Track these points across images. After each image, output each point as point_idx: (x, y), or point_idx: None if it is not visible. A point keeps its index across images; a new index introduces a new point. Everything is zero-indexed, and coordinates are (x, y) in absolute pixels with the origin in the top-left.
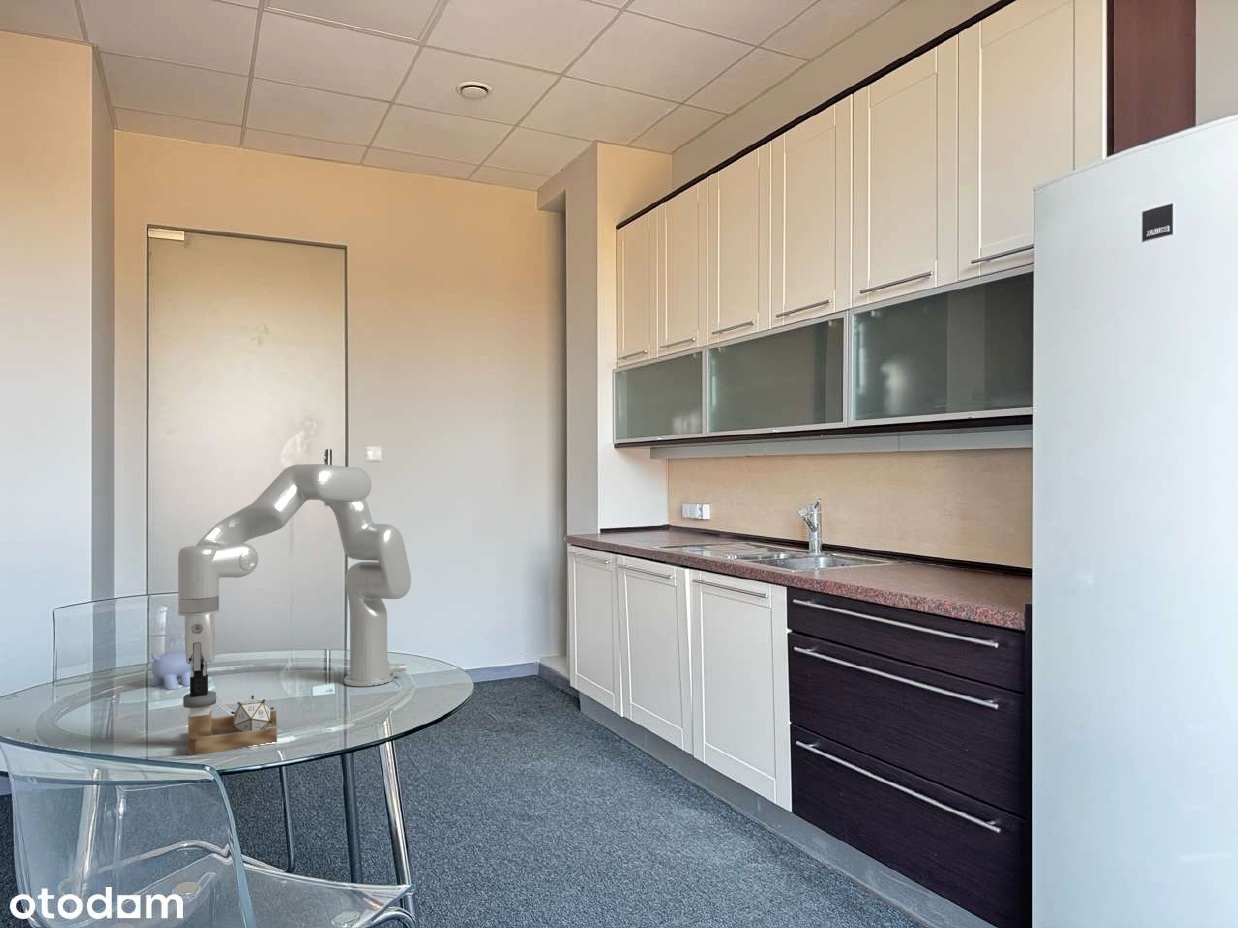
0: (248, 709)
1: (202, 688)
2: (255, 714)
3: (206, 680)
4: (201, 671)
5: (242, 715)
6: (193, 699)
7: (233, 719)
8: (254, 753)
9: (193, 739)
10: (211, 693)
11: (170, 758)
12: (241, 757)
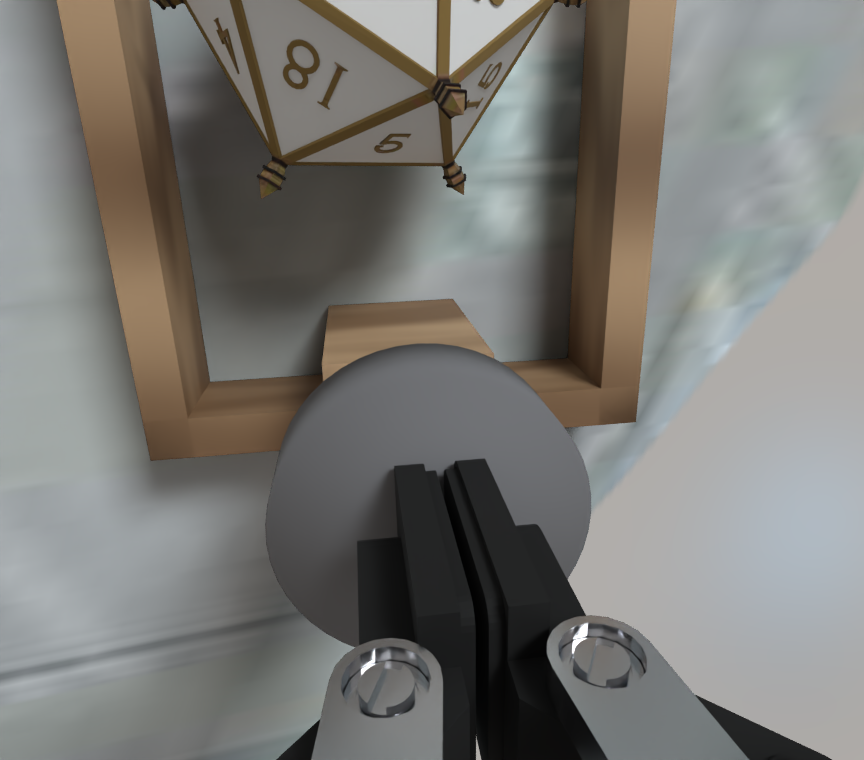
0: (497, 1)
1: (547, 543)
2: None
3: (524, 566)
4: (793, 749)
5: (492, 74)
6: (580, 552)
7: (153, 180)
8: (765, 4)
9: (636, 396)
10: (409, 422)
11: (602, 465)
12: (796, 89)
